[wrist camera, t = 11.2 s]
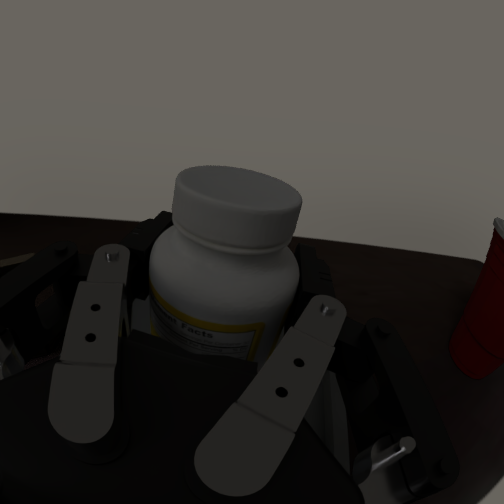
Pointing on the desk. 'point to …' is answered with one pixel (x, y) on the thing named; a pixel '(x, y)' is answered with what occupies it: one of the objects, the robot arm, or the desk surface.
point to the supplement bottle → (225, 263)
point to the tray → (319, 411)
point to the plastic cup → (483, 316)
